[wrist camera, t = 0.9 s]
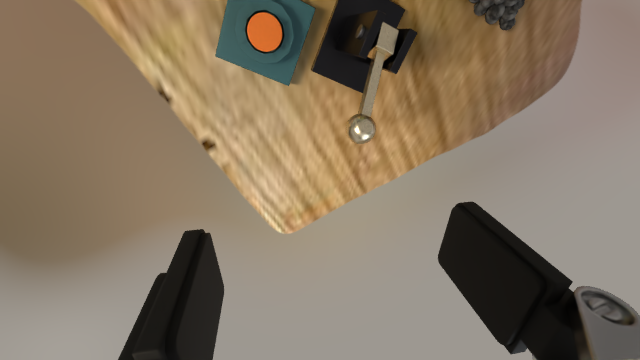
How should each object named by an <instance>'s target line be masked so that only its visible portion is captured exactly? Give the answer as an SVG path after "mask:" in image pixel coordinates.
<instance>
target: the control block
mask: <svg viewBox="0 0 640 360" xmlns="http://www.w3.org/2000/svg"><path fill="white" fill-rule="evenodd" d="M261 12H265V13H269V14H271V15H273V16H274V17H275V18H276V19H277V20H278V22H279V23H280V25H281V28H282V40H281V42H280V44H279V46H278V47H277V48H276V49H274V50H272V51H269V52H264V51H261V50H258V49H257V48H255V47H254V46H253V45H252V43H251V42H250V40H249V37H248V33H247V27H248V23H249V21H250V19H251V18H252V17H253V16H254V15H255V14H257V13H261ZM314 12H315V8H314V7H312V6H310V5H308V4H306V3H304V2H302V1H300V0H228V1H227V6H226V10H225V15H224V19H223V24H222V28H221V33H220V37H219V42H218V46H217V51H216V55H215V56H216V57H218V58H221V59H223V60H226V61H228V62H231V63H233V64H236V65H238V66H241V67H243V68H246V69H248V70H251V71H253V72H255V73H258V74H260V75H263V76H265V77H268V78H270V79H273V80H275V81H278V82H280V83H283V84H285V85H288V86H289V84H290V81H291V78H292V76H293V73H294V70H295V67H296V64H297V61H298V58H299V55H300V53H301V50H302V47H303V44H304V41H305V38H306V35H307V32H308V29H309V27H310V24H311V21H312V18H313V15H314Z"/></svg>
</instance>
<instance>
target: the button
mask: <svg viewBox="0 0 640 360" xmlns="http://www.w3.org/2000/svg"><path fill="white" fill-rule="evenodd" d="M247 33H248V37H249V40H250V42H251V43H252V45H253V46H254V47H255V48H257V49H258V50H261V51H264V52H269V51H272V50H274V49H276V48H277V47H278V46H279V44H280V42H281V40H282V28H281V25H280V23H279V22H278V20H277V19H276V18H275V17H274V16H273V15H271V14H269V13H265V12H261V13H257V14H255V15H254V16H253V17H252V18H251V19H250V21H249V23H248V27H247Z"/></svg>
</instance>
